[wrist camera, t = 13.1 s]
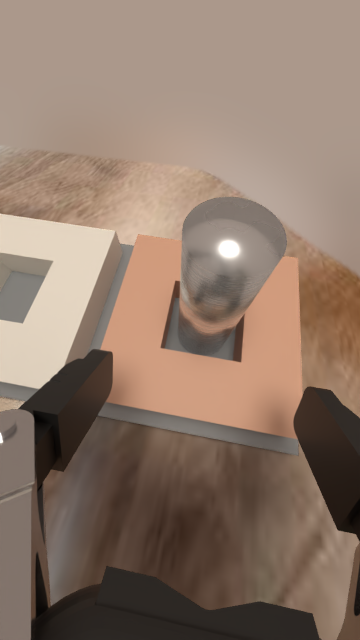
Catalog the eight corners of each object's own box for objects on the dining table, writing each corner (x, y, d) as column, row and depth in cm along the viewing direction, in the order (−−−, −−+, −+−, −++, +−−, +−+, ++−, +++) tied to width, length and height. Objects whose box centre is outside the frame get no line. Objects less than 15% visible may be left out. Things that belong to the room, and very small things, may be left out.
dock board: (-98, 376, 16) (-165, 366, 13) (-4, 231, 22) (-35, 200, 19) (291, 453, 15) (322, 463, 12) (288, 276, 20) (309, 250, 17)
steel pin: (174, 351, 16) (173, 267, 7) (182, 307, 18) (190, 190, 9) (223, 360, 16) (287, 285, 7) (227, 315, 18) (286, 204, 8)
